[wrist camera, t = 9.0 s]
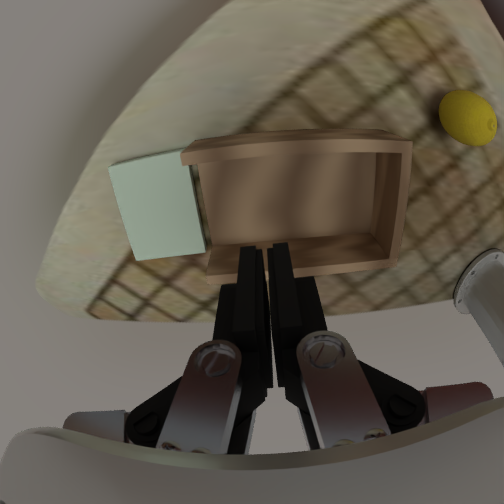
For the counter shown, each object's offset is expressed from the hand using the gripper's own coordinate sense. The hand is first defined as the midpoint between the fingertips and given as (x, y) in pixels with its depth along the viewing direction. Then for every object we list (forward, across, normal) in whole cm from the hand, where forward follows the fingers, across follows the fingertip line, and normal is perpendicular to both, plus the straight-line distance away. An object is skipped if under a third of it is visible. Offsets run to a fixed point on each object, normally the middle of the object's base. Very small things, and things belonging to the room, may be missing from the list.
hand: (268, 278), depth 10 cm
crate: (+18, -3, +3) cm, 18 cm away
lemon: (+18, -20, -5) cm, 28 cm away
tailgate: (+17, +7, +3) cm, 18 cm away
